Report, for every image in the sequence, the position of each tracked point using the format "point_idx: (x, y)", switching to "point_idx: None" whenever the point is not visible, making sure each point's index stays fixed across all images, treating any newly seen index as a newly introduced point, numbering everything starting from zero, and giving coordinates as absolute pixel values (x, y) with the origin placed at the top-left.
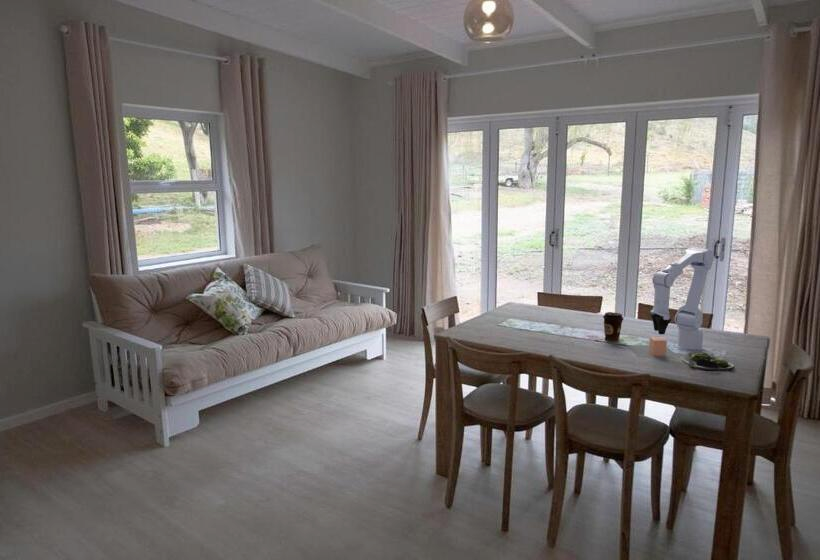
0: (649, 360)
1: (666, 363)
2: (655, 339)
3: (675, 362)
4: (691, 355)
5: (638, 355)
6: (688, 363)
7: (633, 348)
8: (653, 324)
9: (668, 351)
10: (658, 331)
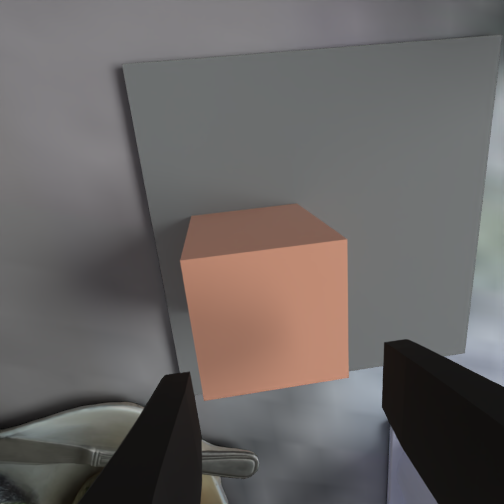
0: (70, 164)
1: (29, 286)
2: (241, 289)
3: (81, 350)
4: None
5: (169, 83)
6: (17, 428)
7: (390, 83)
8: (496, 388)
9: None
10: (173, 394)
